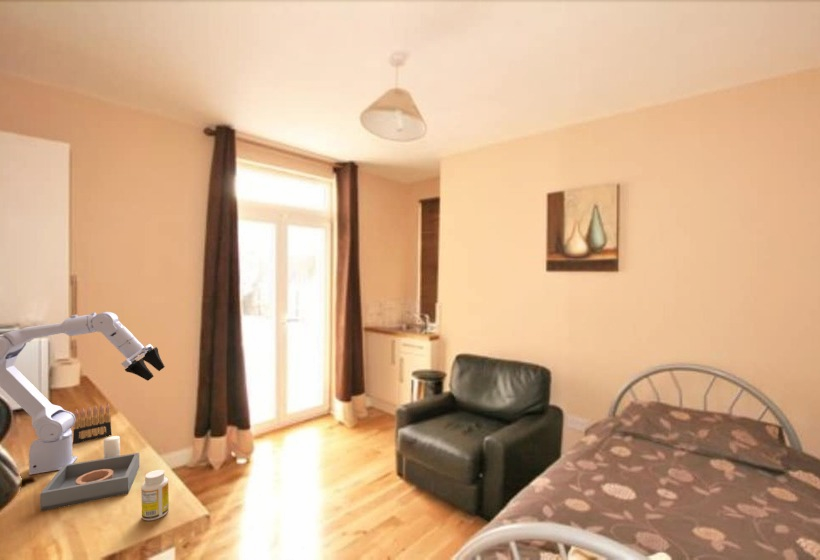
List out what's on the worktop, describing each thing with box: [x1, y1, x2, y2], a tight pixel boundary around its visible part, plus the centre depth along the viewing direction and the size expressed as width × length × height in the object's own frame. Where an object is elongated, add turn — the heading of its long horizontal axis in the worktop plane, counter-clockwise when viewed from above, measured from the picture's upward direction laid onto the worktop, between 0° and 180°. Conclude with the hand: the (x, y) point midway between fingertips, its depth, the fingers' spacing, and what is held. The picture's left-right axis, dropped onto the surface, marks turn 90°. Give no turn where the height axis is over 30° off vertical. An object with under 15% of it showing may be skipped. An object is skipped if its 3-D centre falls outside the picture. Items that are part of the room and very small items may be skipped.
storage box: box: [39, 452, 140, 512], centre depth 108 cm, size 18×16×4 cm
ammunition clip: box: [72, 403, 113, 445], centre depth 140 cm, size 11×2×12 cm, turn 132°
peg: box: [103, 435, 121, 458], centre depth 121 cm, size 4×4×8 cm
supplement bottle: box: [140, 469, 170, 521], centre depth 96 cm, size 6×6×10 cm
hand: (156, 373), depth 129 cm, fingers open, 7 cm apart
